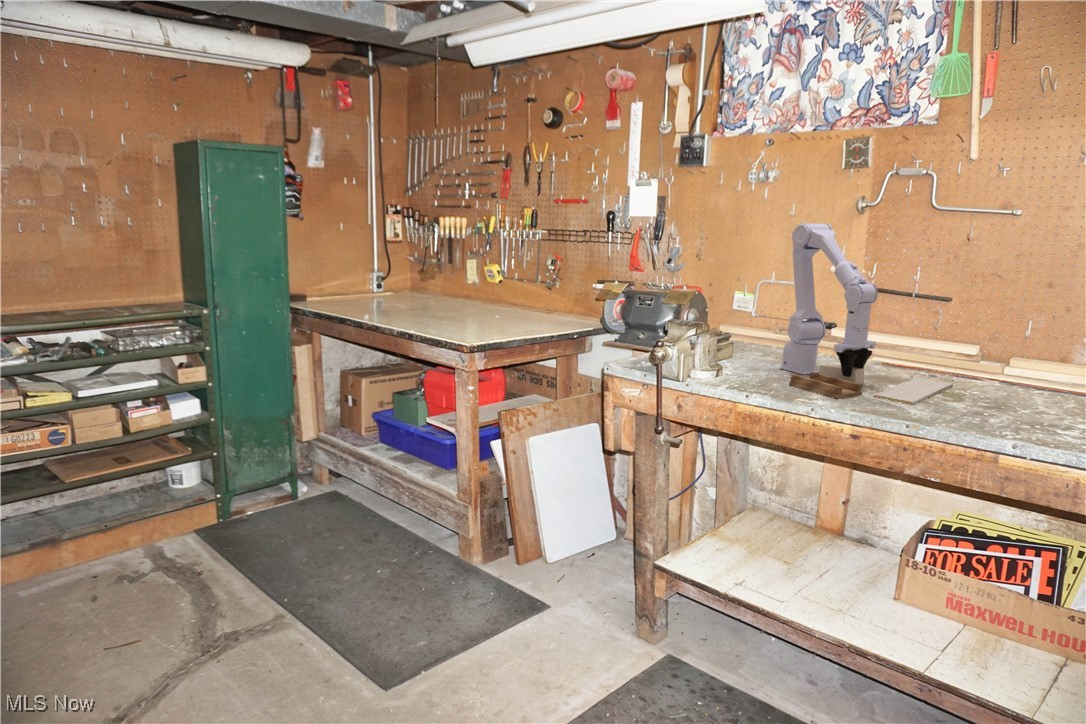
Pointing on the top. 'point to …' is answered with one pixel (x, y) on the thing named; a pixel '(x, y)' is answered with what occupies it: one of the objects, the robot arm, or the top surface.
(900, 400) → the baseboard
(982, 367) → the top surface
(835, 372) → the beige rectangular block
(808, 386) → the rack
